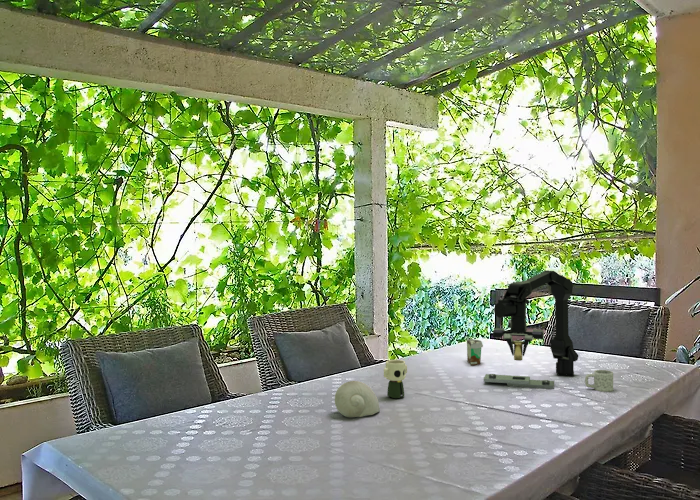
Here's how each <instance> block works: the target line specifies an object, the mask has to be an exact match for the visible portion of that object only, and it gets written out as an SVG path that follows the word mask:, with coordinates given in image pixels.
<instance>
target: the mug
mask: <svg viewBox="0 0 700 500" xmlns="http://www.w3.org/2000/svg"><path fill="white" fill-rule="evenodd" d="M589 378H593V384H589ZM584 381H585V386H586V387H587V388H590V389H591V388H592V389H593V390H595V391H597V392H604V393H611V392H613V391H614V371H612V370H606V369H597V370H594V372H593V373H589V374H586V375H585V378H584Z"/></svg>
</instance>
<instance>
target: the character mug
mask: <svg viewBox="0 0 700 500" xmlns="http://www.w3.org/2000/svg"><path fill="white" fill-rule="evenodd" d="M407 373H408V365H407V364H406V361H404V360H403V359H402V360H401V359H389V360H386V361H385V368H383V378H386V380H388V381H389V382H388V384H387V392H386V393H387V396H388V397H390V398H391V399H400V398H401V396H402V398H404V397H405V389H404V383H403V381H405V379H406V375H407Z"/></svg>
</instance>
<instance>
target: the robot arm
mask: <svg viewBox="0 0 700 500" xmlns="http://www.w3.org/2000/svg"><path fill="white" fill-rule="evenodd" d="M544 285H547V286H548V287H550V292H551V295H552V296H553V299H554V301H555V303H554V306H555V309H554V310H555V311H554V312H555V335H554V337H553V338H550V347H549V349H550V351H551V353H552V358H553V359H556V360H557V361H556V362H555V373H556V375H557V376H561V377H562V376H563V377H574V376H575V372H574V371H575V370H574V362H576V361H578V360H579V354H578V353H577V351H576V350H575V349H574V343H573V340H572V339H571V337H570V334H569V299H570V298H571V296H572V294H573V288H574V286H573V285H574V284H573V281H572V280H571V279H570V278H567V277H566V276H563V275H561V274H559V273H558V272H556V271H554V270H548V269H547V270H543V271H542V272H540V273H539V274H535V275H534V276H533V277H530V278H528V279H526V280H520V281H515V282H511V283H510V284H509V285H508V287H507V289H506V291H505V293H504V295H503V298H502V299H498V300H497V303H496V304H495V305H494V308H493V312H494V315H495V316H496V318H498V319H499V318H500V319H501V318H508V317H509V318H510V319H508V321H507V322H508V323H507V328H508V329H510V330H506V329H505V328H501V327H498V328H497V327H495V328H494V329H493V331H492V337H493V338H502V337H503V340H504V341H506V343H507V345H508V347H509V349H510V352H511V355H512V357H514V344H512V341H514V340H513V339H514V338H513V336H514V337H515V336H516V337H524V339H523V341H524V344H523V356H522V357H525V354H526V351H527V348H528V345H529V343H530V342H532V341H533V340H543V339H544V337H545V334H544V333H545V332H544V330H543V329H533V330H532V331H527V327H528V326H527V325H528V324H527V304H530V303H531V301H530V300H529V299H527V298H528V297H529V296H530V295H531V294H532V292H533V291H534V290H536V289H538V288H540V287H543V286H544Z"/></svg>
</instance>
